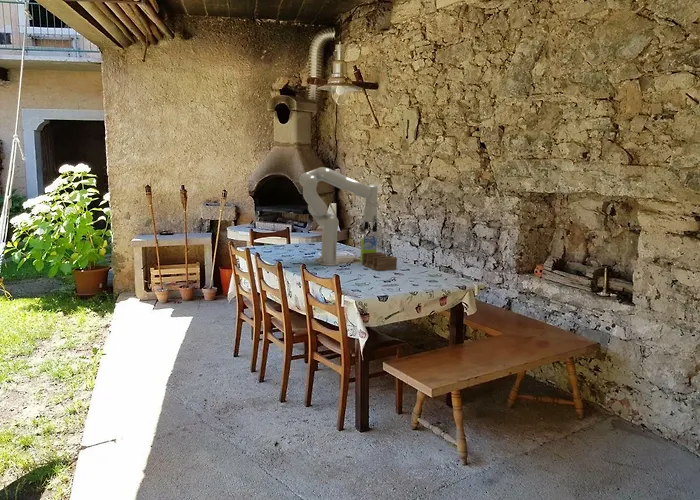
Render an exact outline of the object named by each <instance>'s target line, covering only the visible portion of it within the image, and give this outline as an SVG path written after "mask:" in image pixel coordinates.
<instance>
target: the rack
mask: <svg viewBox="0 0 700 500" xmlns="http://www.w3.org/2000/svg"><path fill="white" fill-rule="evenodd" d="M397 264H398V257H397V256H393V255H387V253H383V252H382V251H376V252H375V253H363V257H362V262H361V265H362V266H364V267H366V268H368V269H372V270H374V271H376V272H383V271H393V270H397V267H398V266H397Z"/></svg>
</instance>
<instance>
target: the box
mask: <svg viewBox="0 0 700 500" xmlns="http://www.w3.org/2000/svg"><path fill="white" fill-rule="evenodd" d="M377 246H378V236H377V235H375V236H374V235H371V236H364V237H363V238H361V239H360V263H362V257H363V253H375V252H378V251H377Z"/></svg>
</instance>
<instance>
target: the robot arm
mask: <svg viewBox="0 0 700 500" xmlns="http://www.w3.org/2000/svg"><path fill="white" fill-rule="evenodd" d="M319 182H324V183H327V184H329V185H331V186H333V187H336V188H338V189H340V190H343V191H348V192H351V193H353V194H354V195H355V196H356V197H360V198H362V199H363V198H365V205H364V210H363V216H362V218H363V224H364V225H363V230H369V229H370V227H369V226H370V223H371V224H372V226H371V227H372V228H371V231H372V233H374V232H378V224H379V221H380V219H379V218H378V190H379V189H378V188H379V187H378V185H376V184H367V185H366V184H363V183H361V182H359V181H358V180H355V179H353V178H350V177H348V176H346V175H344V174H342V173H340V172H338V171H336V170H333V169H331V168H329V167H323V166H321V167H318V168H317V167H316V168H314V169H312V170H310V171H307V172H304V173H302V174H301V175H300V176H299V178H298V183H299V185H300V186H302V187H303V188H302V196H303V199H304V200H305V202H306V203H307V211H308V212H309V214H310V215H311V217H312V218H313V219H314V220H315V222H316V223H317V225H319V226H320V227H321V228H322V232H321V233H322V235H321V255H320V256H319V257H318V258H317V257H315V258H314V259H313V261H314V262H318V264H319V265H321V266H328V267H331V266H333V267H334V266H337V265H339V261H337V250H338V249H337V248H338V247H337V246H338V245H337V244H338V230H339V225H340V223H339V219H338V217H337V216H336V215H334V214H331V213H329V212H328V210H329V209H328V206H327V204H326V203H325V201H323V200H322V198H321V196H320V195H319V194H318V192H317V187H318V184H319Z"/></svg>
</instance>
